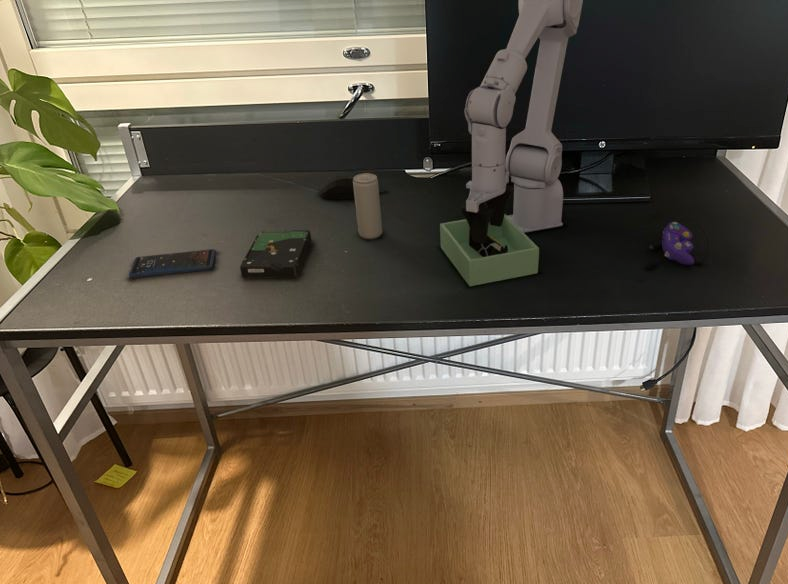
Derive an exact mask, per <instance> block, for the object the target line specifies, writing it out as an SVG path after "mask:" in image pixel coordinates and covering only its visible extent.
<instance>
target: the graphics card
mask: <svg viewBox="0 0 788 584" xmlns="http://www.w3.org/2000/svg"><path fill="white" fill-rule="evenodd" d="M469 247H471V248H472V249H473V250H475V251H476V252H477V253H479V254H480V255H481V256H483V257H487V256H493V255H498V254H503V253H508V248H507V245H505V248H504V247H503V246H501V243H499V242H498V241H497V240H495V239H494V238H493V237H490V236H488V235H487V239H486V242H485V243H484V244H480V243H475V242H474V241H473V238H472V234H471V231H470V229H469Z"/></svg>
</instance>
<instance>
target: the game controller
mask: <svg viewBox="0 0 788 584" xmlns="http://www.w3.org/2000/svg"><path fill="white" fill-rule="evenodd" d="M683 220H685V218H682V219H680V220H678V221H671V222H669V223H668V224H667V225H666V226H665V227H664V229H663V231H662V236H661V237H659V238H658V239H657V240H656V242H655V244H654V246H653V245H652V244H649V245H648V248H649V249H650V250H652V251H651V254H650V257H649V260H648V266H647V268H648V270H650V269H652V268H653V267H654V266H655V265H656V264H657V263H658V262H659V261H660V260H662V259H663V258H665V257H666V258H667V259H668V260H672V261H676V262H677V263H679V264H681V265H685V266H693V265H696V262H695V259H694V257H693V256H692V255H691V252H692V251H693V249H694V244H693V242H691V240H692V238H693V233H692V232H691V230H689V229H688V228H687V227H685V226H684V225H682V224H681V223H680V222H681V221H683ZM689 220H690V221H693V222H694V223H695V224H697V221H695V220H694V219H691V218H689ZM699 228H700V229H701V231H702V232H703V234H704V237H705V239H706V243H707V245H709V241H708V238H707V235H706V233H705V231H704V230H703V228H702V227H701V226H699ZM659 240H661V243H660V244H659V245H658V246H657V247H656V248H655V246H656V245H657V243H658V241H659ZM660 247H662V251H663V252H664V254H663V255H664V256H662V257H661V258H659V259H657V261H656V262H654V264H652V266H650V262H651V259H652V255H653V252H654V250H657V249H659V248H660ZM708 253H709V251H707V254H706V256H705V258H704V260H703V261H702V262H700V263H699V265H701V264H702V263H704V262H705V261H706V259H707V257H708Z"/></svg>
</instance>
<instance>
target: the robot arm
mask: <svg viewBox="0 0 788 584" xmlns="http://www.w3.org/2000/svg"><path fill="white" fill-rule="evenodd" d="M583 1H584V0H518V3H517V4H518V14H519V15H518V18H517V20H516V23H515V24H514V25H515V26H514V28H513V31H512V33H511V35H510V38H509V40H508V43H507V46H506V48H504V49H500V50H498V51H497V53H496V54H495V56H494V58H493V60H492V62H491V63H490V66H489V68H488V70H487V72H486V73H485V75H484V77H483V80H482V81H481V83H480V85H479V86H478V87H477V86H476V88H475V89H472V90H471V91H470V92H469V93H468V96H467V98H466V100H465V108H464V117H465V120H466V122H467V125H468V126H467V127H468V133H469V134H470V135H471V180H469V181H468V182H467V183H466V184H465V188H466V189H469V194H468V197H467V199H466V200H465V202H464V203H463V204H462V205H461V206H460V212H461V214H462V215H463V217H464V219H466V220H467V222H468V224H469V227H470V231H471V234H472V238H473V241H474V242H475V243H480V244H484V243H485V242H486V239H487V232H488V225H489V222H490V225H493V226H498V227H501V225H502V223H503V219H504V215H505V214H506V211H507V207H508V204H509V201H510V200H511V198H512V195H513V205H512V207H513V209H512V211H513V212H512V214H509V215H507V216H508V217H509V218H510V219H511V220H512V221H513V222H514V223H515V224H516V225H517V226H518V227H519V228H520V229H521V231H522V232H523V233H524V234H526V233H531V232H536V231H541V230H548V229H553V228H559V227H562V226H563V225H564V223H563V221H562V217H563V205H564V190H563V185H562V183H561V181H560V179H558V178H559V177H560V174H561V171H562V165H563V160H562V156H563V155H562V154H563V144H562V143H561V141H560V140H559V139H558V138H557V137H556V136H555V135H554V133H553V132H552V129H553V123H554V117H555V112H556V107H557V101H558V95H559V89H560V85H561V79H562V74H563V69H564V64H565V58H566V52H567V51H566V50H567V47H568V42H569V38H571V37H573V36H575V35H576V34H577V31H578V27H579V24H580V20H581V14H582V7H583V4H584V2H583ZM538 39H539V47H538V51H537V58H536V62H535V63H536V64H535V70H534V76H533V82H532V87H531V93H530V100H529V105H528V110H527V115H526V116H527V117H526V122H525V128H524V129H523V130H522V131H520V132H518V133H517V134H516V135H514V136H513V137H512V138H511V141H510V145H509V149H508V151H507V154H506V147H507V146H506V145H507V144H506V143H507V126H508V125H509V124H510V122H511V120H512V117H513V113H514V107H515V103H516V100H517V98H516V93H517V91H518V89H519V88H520V85H521V83H522V81H523V78H524V77H525V74H526V72H527V70H528V64H527V61H526V58H527V56H529V53H530V51H531V50H532V48H533V46H534V45H535V43H536V42H537V40H538ZM528 145H530V146H528ZM532 146H534V147H532ZM538 147H542V148H538ZM543 148H544V149H543ZM509 180H510V182H511V183H513V186H512V185H507V184H509ZM485 202H486V205H485ZM486 206H487V207H486Z"/></svg>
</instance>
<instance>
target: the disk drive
mask: <svg viewBox="0 0 788 584" xmlns="http://www.w3.org/2000/svg"><path fill="white" fill-rule="evenodd" d="M311 243H312V235H311V230H310V229H307V230H305V229H304V230H302V229H300V230H299V229H297V230H290V229H289V230H288V229H287V230H283V231H265V230H261V231H260V232H259V233H258V234H257V235H256V236H255V238H254V239H253V242H252V244H251V246H250V247H249V248H248V252H247V253H246V255H245V257H244V258H243V260H242V261H241V263H240V266H239V269H240V273H241V277H242V278H243V279H244V278H247V279H275V278H276V279H289V278H297V277H298V276H299V273H300V271H301V269H302V266H303V264H304V261H305V258H306V256H307V254H308V251H309V249H310V246H311Z"/></svg>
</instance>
